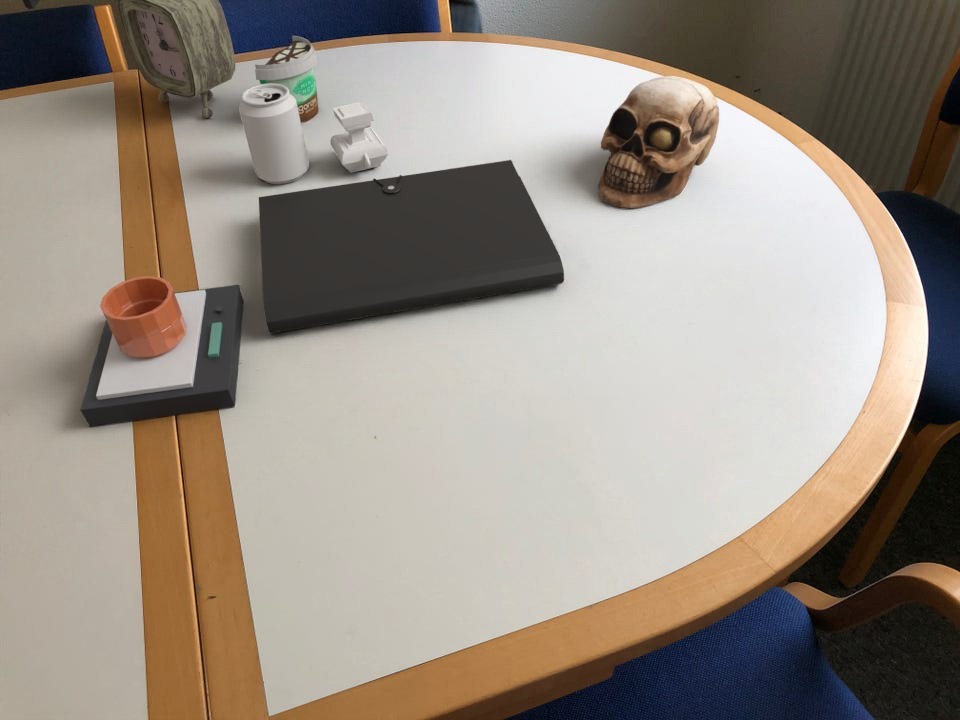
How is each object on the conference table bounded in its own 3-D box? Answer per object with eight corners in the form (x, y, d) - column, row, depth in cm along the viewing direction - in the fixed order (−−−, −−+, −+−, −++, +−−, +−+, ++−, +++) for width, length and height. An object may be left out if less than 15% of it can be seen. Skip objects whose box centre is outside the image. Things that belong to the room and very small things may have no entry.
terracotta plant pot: (114, 365, 79) (94, 323, 75) (125, 322, 84) (107, 280, 80) (184, 356, 80) (167, 314, 76) (191, 313, 85) (175, 272, 81)
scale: (89, 427, 77) (77, 405, 75) (118, 317, 90) (108, 296, 88) (235, 407, 79) (227, 385, 77) (244, 301, 91) (237, 280, 89)
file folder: (510, 156, 105) (564, 263, 88) (510, 183, 108) (563, 292, 91) (257, 193, 100) (263, 314, 83) (264, 221, 103) (271, 342, 86)
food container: (303, 134, 120) (290, 70, 113) (268, 129, 122) (253, 65, 115) (339, 99, 129) (329, 37, 122) (305, 95, 130) (293, 34, 123)
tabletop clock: (149, 104, 130) (93, -63, 113) (192, 84, 135) (145, -79, 118) (208, 125, 124) (158, -48, 107) (251, 103, 129) (210, -66, 112)
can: (293, 190, 108) (274, 107, 100) (246, 182, 110) (224, 100, 102) (319, 164, 113) (304, 83, 105) (274, 157, 116) (255, 76, 107)
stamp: (393, 173, 111) (386, 117, 105) (347, 184, 109) (338, 128, 103) (374, 145, 117) (366, 90, 111) (330, 155, 115) (320, 100, 109)
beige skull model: (599, 207, 102) (610, 104, 94) (593, 154, 116) (602, 61, 108) (722, 212, 101) (744, 109, 93) (701, 158, 115) (719, 64, 107)
